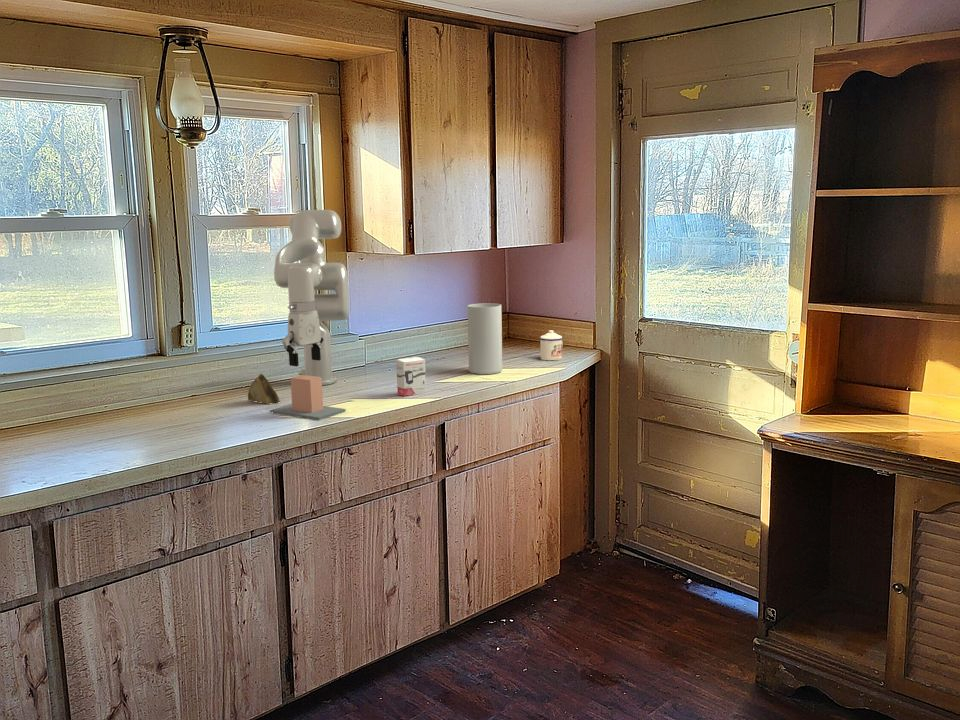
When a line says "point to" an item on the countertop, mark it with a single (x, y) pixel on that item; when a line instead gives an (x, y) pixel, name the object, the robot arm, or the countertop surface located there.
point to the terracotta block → (306, 393)
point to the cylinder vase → (485, 338)
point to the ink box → (411, 376)
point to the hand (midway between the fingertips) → (305, 362)
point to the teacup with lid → (551, 346)
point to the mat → (314, 415)
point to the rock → (262, 391)
